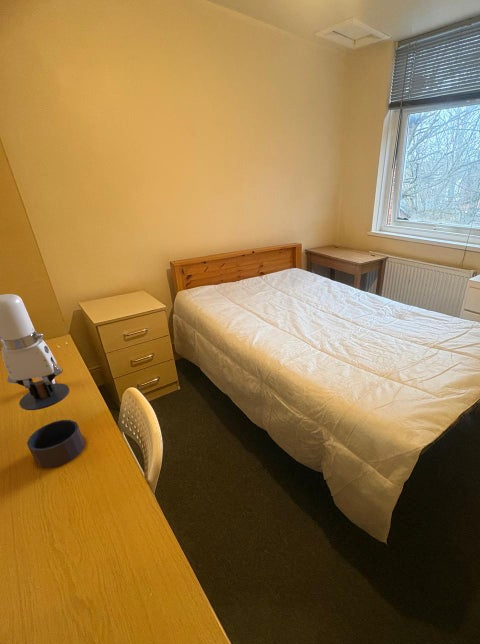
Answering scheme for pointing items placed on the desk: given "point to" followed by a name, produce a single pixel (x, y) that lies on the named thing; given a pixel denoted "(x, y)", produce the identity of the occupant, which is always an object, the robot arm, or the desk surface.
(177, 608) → the desk surface
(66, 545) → the desk surface
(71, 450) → the pot
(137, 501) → the desk surface
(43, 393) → the lid
